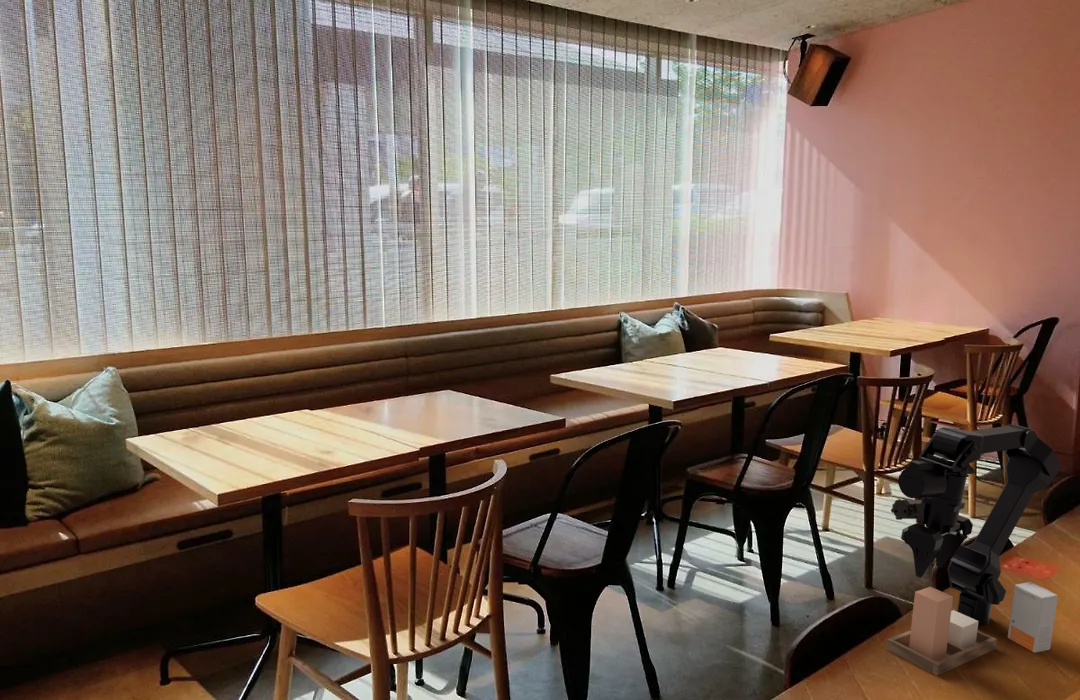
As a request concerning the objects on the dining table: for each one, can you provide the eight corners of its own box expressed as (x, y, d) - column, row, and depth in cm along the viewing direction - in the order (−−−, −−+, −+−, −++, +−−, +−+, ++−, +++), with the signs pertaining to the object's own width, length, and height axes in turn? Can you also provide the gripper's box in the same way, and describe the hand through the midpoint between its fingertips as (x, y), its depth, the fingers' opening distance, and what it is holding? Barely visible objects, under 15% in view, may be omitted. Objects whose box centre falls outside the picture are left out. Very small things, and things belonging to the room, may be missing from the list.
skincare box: (1005, 642, 160) (1013, 583, 158) (1022, 638, 162) (1029, 581, 160) (1034, 658, 155) (1042, 598, 153) (1050, 654, 156) (1059, 594, 154)
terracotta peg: (923, 646, 156) (930, 586, 154) (945, 657, 152) (952, 596, 150) (908, 652, 154) (915, 591, 152) (930, 664, 150) (937, 602, 148)
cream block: (950, 634, 161) (953, 609, 160) (975, 645, 157) (978, 621, 156) (934, 640, 158) (937, 616, 157) (959, 652, 154) (962, 627, 153)
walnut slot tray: (944, 630, 164) (946, 616, 164) (994, 653, 156) (996, 639, 155) (885, 654, 155) (887, 639, 154) (936, 680, 146) (937, 665, 146)
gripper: (923, 475, 170) (908, 546, 172) (882, 488, 157) (866, 565, 160) (981, 493, 162) (964, 568, 164) (941, 508, 149) (924, 589, 152)
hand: (929, 571), depth 160 cm, fingers open, 9 cm apart
